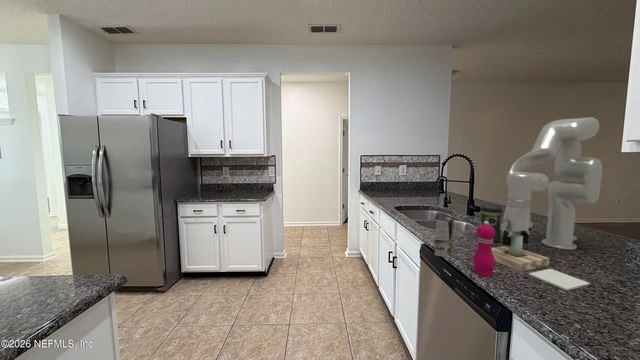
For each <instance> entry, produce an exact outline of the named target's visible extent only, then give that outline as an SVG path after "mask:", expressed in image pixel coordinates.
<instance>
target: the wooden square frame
mask: <svg viewBox="0 0 640 360" xmlns="http://www.w3.org/2000/svg"><path fill="white" fill-rule="evenodd" d="M491 250H492V253H493V256H494V258H495V263H496V262H497V263H499V264H501V265H504V266H505V267H506V266H507V267H509V268H511V269H513V270H516V271H519V272H524V271H529V270H533V269H534V270H535V269H538V268H543V267H548V266H550V257H547V256H543V255H542V254H541V255H540V254H537V253H535V252H531V251H528V250H525V249H523V248H522V257H518V258H517V257H514V256H512V255H509V254H508V251H509V246H506V245H502V246H496V247H491Z"/></svg>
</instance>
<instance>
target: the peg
mask: <svg viewBox="0 0 640 360" xmlns="http://www.w3.org/2000/svg"><path fill="white" fill-rule="evenodd" d="M510 237H512V240H511V246H510V247H509V251H508V254H509V255H512V256H514V257H517V258H518V257H522V249H523V245H524V243H523V235H520V233H515V232H513V233H512V235H511V236H510Z"/></svg>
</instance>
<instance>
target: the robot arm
mask: <svg viewBox="0 0 640 360" xmlns="http://www.w3.org/2000/svg"><path fill="white" fill-rule="evenodd" d="M599 130H600V122H599V120H598V119H597V118H595V117H592V116H591V117H580V118H579V117H577V118H565V119H556V120H553V121H550V122H549V123H547V124H545V125H543V126H542V128H541V130H540V132H539V134H538V136H537V138H536V140H535V142H534V145H533V147H532V150H530V151H528V152H527V153H525V154H524V155H521V156H520V157H518V159H516V160H515V161H514V163H513V164H512V165H511V167H510V168H509V171H508V173H507V175H506V180H505V181H506V185H507V187H508V192H507V204H506V205H505V206H506V207H505V210H504V213H503V218H502V224H500V229H501V236H502V246H509V247H510V246H511V240H512V237H510V236H511V235H512V233H519V234H520V235H523V245H524V244H525V245H529V235H530V234H531V231H532V227H533V225H534V223H533V222H531V200H532V192H542V191H545V190H547V194H548V215H547V226H546V235H545V238H544V239H542V240H541V243H542V244H543V245H545V246H548V247H550V248H551V247H552V248H556V249H560V250H568V251H569V250H572V251H573V250H576V249H577V244H575V243H573V242H574V241H577V239H578V238H577V236H575V235H574V233H575V232H574V231H575V220H576V208H575V207H574V205H573V204H572V202H573V203H581V204H587V205H588V204H589V205H590V204H594V203H597V201H598V199H599V198H600V193H601V183H602V177H603V165H602V162H601V160H600V159H597V158H596V157H582V156H581V152H582V145H581V143H580V142H582V141H585V140H588V139H590V138H594V136H596V135H597V133H598V132H599ZM554 159H555V160H554ZM551 160H554V173H555V176H557V177H561V178H567V179H570V178H571V179H579V180H580V179H583V181H577V180H564V179H558V180H554V181H553V180H552V181H551V182H550V179H549V177H548V176H547V175H546V174H544V173H540V172H530V171H529V172H527V171H525V170H527V169H528V168H531V167H533V166H536V165H540V164H542V163H546V162H549V161H551Z"/></svg>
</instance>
